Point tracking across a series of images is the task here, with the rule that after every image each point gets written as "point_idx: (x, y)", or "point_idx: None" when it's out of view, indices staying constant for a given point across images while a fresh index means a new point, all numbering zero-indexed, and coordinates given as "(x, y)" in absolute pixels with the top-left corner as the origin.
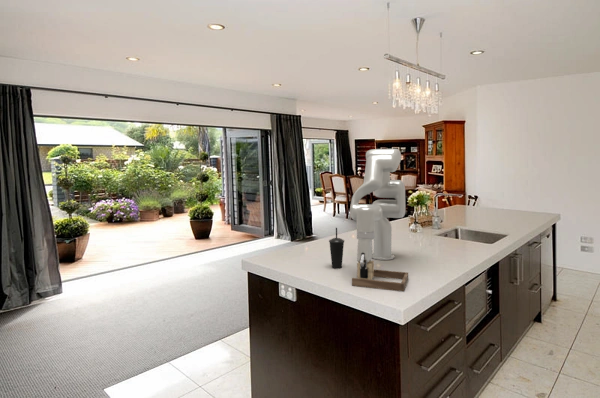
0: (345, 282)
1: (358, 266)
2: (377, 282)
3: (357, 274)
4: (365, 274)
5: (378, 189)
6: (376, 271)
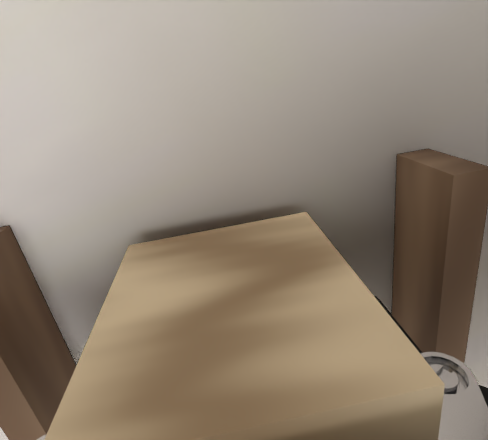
0: (23, 102)
1: (75, 413)
2: None
3: (114, 282)
4: None
5: None
6: None
